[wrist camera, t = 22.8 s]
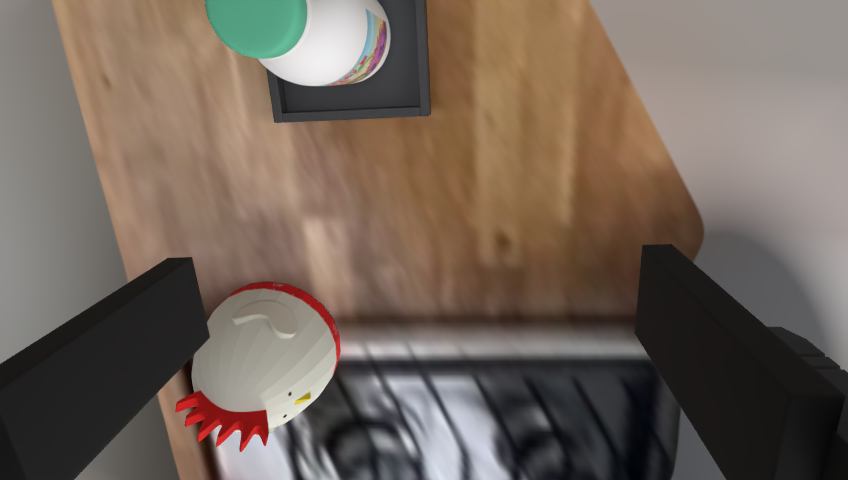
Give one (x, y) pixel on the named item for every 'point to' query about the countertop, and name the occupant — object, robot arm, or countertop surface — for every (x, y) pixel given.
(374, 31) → the milk bottle
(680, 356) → the robot arm
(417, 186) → the countertop surface
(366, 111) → the dock tray
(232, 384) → the kitchen timer
